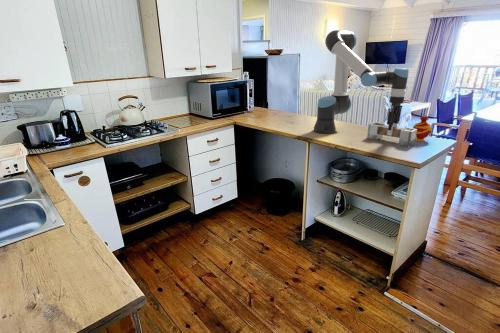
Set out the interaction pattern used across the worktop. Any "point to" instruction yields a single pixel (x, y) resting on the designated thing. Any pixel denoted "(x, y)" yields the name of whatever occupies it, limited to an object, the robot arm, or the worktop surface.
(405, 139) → the bracket
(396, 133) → the rail
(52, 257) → the worktop surface
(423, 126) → the potion bottle
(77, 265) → the worktop surface
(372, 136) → the bracket
